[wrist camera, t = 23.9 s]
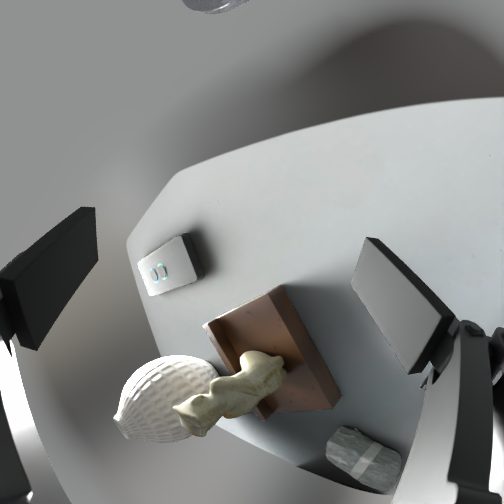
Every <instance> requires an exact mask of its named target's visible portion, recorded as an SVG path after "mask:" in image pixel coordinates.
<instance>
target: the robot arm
mask: <svg viewBox="0 0 504 504" xmlns="http://www.w3.org/2000/svg"><path fill="white" fill-rule="evenodd" d="M97 261H98V251H97V237H96V218H95V207H80V208H79V209H78V210H76V211H75V212H73V213H72V214H71V215H69V216H68V217H67V218H65V219H64V220H63V221H61V222H60V223H59V224H58V225H56V226H55V227H54V228H53V229H51V230H50V231H49V232H47V233H46V234H45V235H44V236H43V237H41V238H40V239H39V240H38V241H37V242H35V243H34V244H33V245H32V246H31V247H29V248H28V249H27V250H26V251H24V252H22V253H20V254H18V255H17V256H16V257H15V258H14V259H13V260H12V262H9V263H8V264H7V266H6V267H4V268H3V269H2V270H1V271H0V504H71V502H70V501H69V499H68V497H67V495H66V493H65V492H64V490H63V488H62V486H61V484H60V482H59V480H58V478H57V476H56V474H55V472H54V470H53V468H52V466H51V463H50V462H49V459H48V457H47V455H46V452H45V450H44V447H43V445H42V443H41V440H40V438H39V435H38V432H37V430H36V427H35V424H34V421H33V418H32V415H31V412H30V409H29V406H28V403H27V400H26V396H25V393H24V390H23V386H22V382H21V378H20V374H19V370H18V365H17V361H16V356H15V351H14V347H13V344H12V342H11V339H12V337H13V336H14V334H15V333H16V335H17V338H18V340H19V343H20V345H21V346H23V347H26V348H29V349H32V350H36V351H37V350H38V348H39V347H40V345H41V343H42V341H43V340H44V338H45V337H46V335H47V333H48V332H49V330H50V329H51V327H52V326H53V324H54V322H55V321H56V319H57V318H58V316H59V315H60V313H61V312H62V310H63V309H64V307H65V306H66V304H67V303H68V301H69V300H70V299H71V297H72V295H73V294H74V293H75V291H76V290H77V289H78V287H79V286H80V284H81V283H82V282H83V280H84V279H85V277H86V276H87V275H88V273H89V272H90V271H91V269H92V268H93V267H94V265H95V264H96V263H97ZM351 286H352V287H353V289H354V290H355V292H356V293H357V295H358V296H359V298H360V299H361V301H362V302H363V304H364V305H365V307H366V308H367V310H368V311H369V313H370V314H371V316H372V317H373V319H374V321H375V322H376V324H377V325H378V327H379V328H380V330H381V332H382V333H383V335H384V336H385V338H386V340H387V341H388V343H389V344H390V346H391V348H392V349H393V351H394V353H395V354H396V356H397V358H398V359H399V361H400V363H401V364H402V366H403V368H404V369H405V371H406V373H407V374H408V375H410V374H416V373H422V371H423V370H424V368H425V367H426V365H427V364H428V362H429V361H430V362H431V363H432V365H433V368H432V369H431V371H430V372H429V374H428V375H427V377H426V378H425V380H424V381H423V382H422V384H421V386H420V388H422V387H423V386H424V385H426V384H427V386H426V389H425V390H426V392H425V396H424V401H423V405H422V410H421V414H420V418H419V422H418V426H417V429H416V433H415V437H414V440H413V443H412V447H411V450H410V453H409V456H408V459H407V462H406V465H405V468H404V471H403V474H402V476H401V479H400V482H399V484H398V487H397V489H396V492H395V494H394V497H393V499H392V501H391V504H504V328H501V327H498V328H496V330H495V332H494V333H493V335H492V337H489V336H486V335H485V332H484V330H483V329H482V328H481V327H479V326H478V325H477V324H476V323H474V322H471V321H468V320H462V321H461V322H460V321H459V320H458V319H457V318H456V317H455V315H454V313H453V312H452V311H451V310H450V309H449V308H448V307H447V306H446V305H445V304H444V303H443V302H442V301H441V299H440V298H439V297H438V296H437V295H436V294H435V293H434V292H433V291H432V290H431V289H430V288H429V287H428V286H427V285H426V284H425V283H424V282H423V281H422V280H421V279H420V278H419V277H418V276H417V275H416V274H415V273H414V272H413V271H412V270H411V269H410V268H409V267H408V266H407V265H406V264H405V263H404V262H403V261H402V260H401V259H399V258H398V257H397V256H396V255H395V254H394V253H393V252H392V251H391V250H390V249H389V248H388V247H387V246H386V245H384V244H383V243H382V242H381V241H380V240H379V239H376V238H370V237H366V238H365V241H364V244H363V248H362V251H361V254H360V257H359V260H358V264H357V267H356V270H355V273H354V276H353V279H352V281H351ZM500 370H502V376H501V378H500V379H499V380H498V382H497V383H496V384H495V385H493V382H492V381H493V379H494V378H495V377H496V375H497V374H498V373H499V371H500Z"/></svg>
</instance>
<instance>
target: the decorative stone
mask: <svg viewBox="0 0 504 504" xmlns="http://www.w3.org/2000/svg"><path fill="white" fill-rule="evenodd" d="M326 457H327V459H328V460H329V461H330V462H332V463H333V464H334V465H336V466H337V467H339V468H340V469H342V470H344V471H345V472H347V473H348V474H350V475H351V476H352V477H353V478H355V479H356V480H358V481H359V482H361V483H362V484H364V485H366V486H369V487H371V488H375V489H378V490H383V491H388V490H390V489H392V488H393V487H394V486H395V483H396V481H397V479H398V477H399V475H400V469H401V465H402V461H401V455H400V454H399V453H397V452H396V451H394V450H392V449H389V448H387V447H385V446H383V445H382V444H380V443H378V441H375V442H373V441H372V440H371V439H370V438H369V437H367V436H366V435H364V434H363V433H360V431H358V430H357V429H356V428H354V429H351V428H347V427H344V426H343V427H342V426H341V427H340V428H339V429H338V430H337V431H336V432H335V433H334V435H333V436H332V437H331V438H330V439H329V441H328V442H327V445H326Z"/></svg>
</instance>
